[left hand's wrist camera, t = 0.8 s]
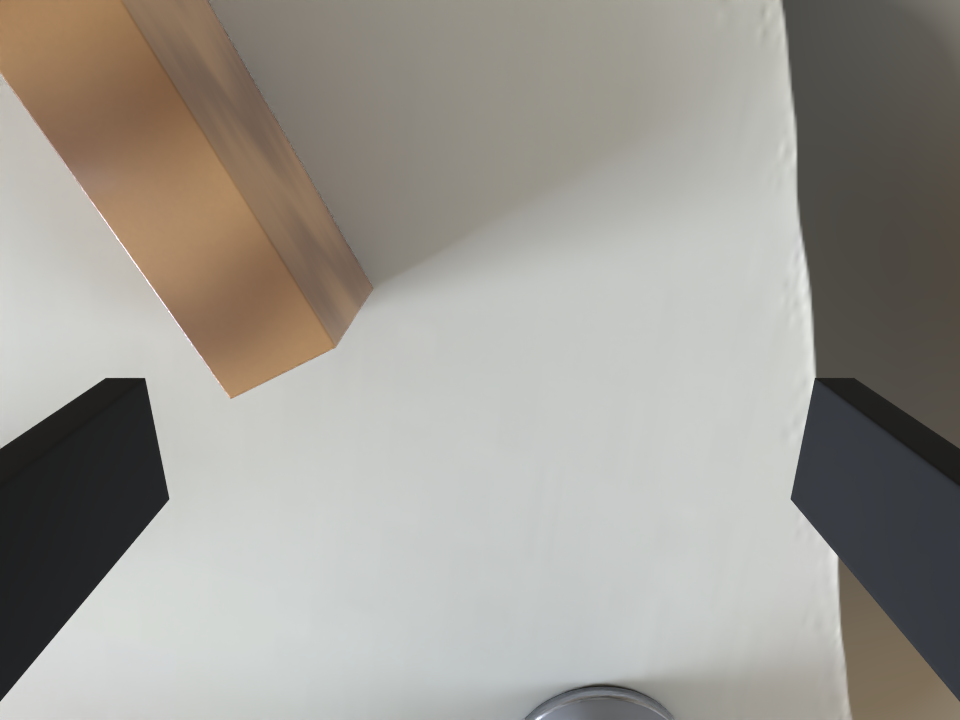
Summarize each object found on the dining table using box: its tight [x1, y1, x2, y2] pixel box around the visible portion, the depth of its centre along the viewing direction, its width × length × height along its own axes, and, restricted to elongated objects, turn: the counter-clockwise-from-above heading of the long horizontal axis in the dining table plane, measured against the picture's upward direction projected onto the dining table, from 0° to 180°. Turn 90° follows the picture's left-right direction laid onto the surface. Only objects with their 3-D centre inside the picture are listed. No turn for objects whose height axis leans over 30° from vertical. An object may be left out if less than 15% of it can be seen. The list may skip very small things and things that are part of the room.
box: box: [0, 0, 373, 399], centre depth 33 cm, size 26×6×12 cm, turn 27°
